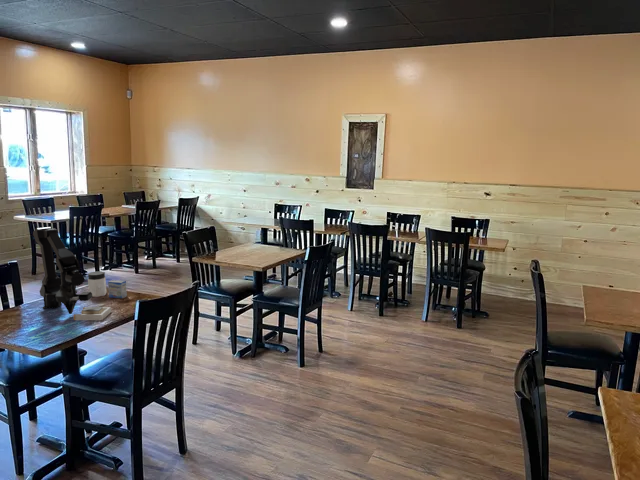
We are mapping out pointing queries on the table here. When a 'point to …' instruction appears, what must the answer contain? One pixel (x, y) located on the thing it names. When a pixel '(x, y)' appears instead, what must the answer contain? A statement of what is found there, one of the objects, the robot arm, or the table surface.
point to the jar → (97, 283)
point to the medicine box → (117, 289)
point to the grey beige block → (92, 310)
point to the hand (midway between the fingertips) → (70, 313)
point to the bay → (93, 315)
